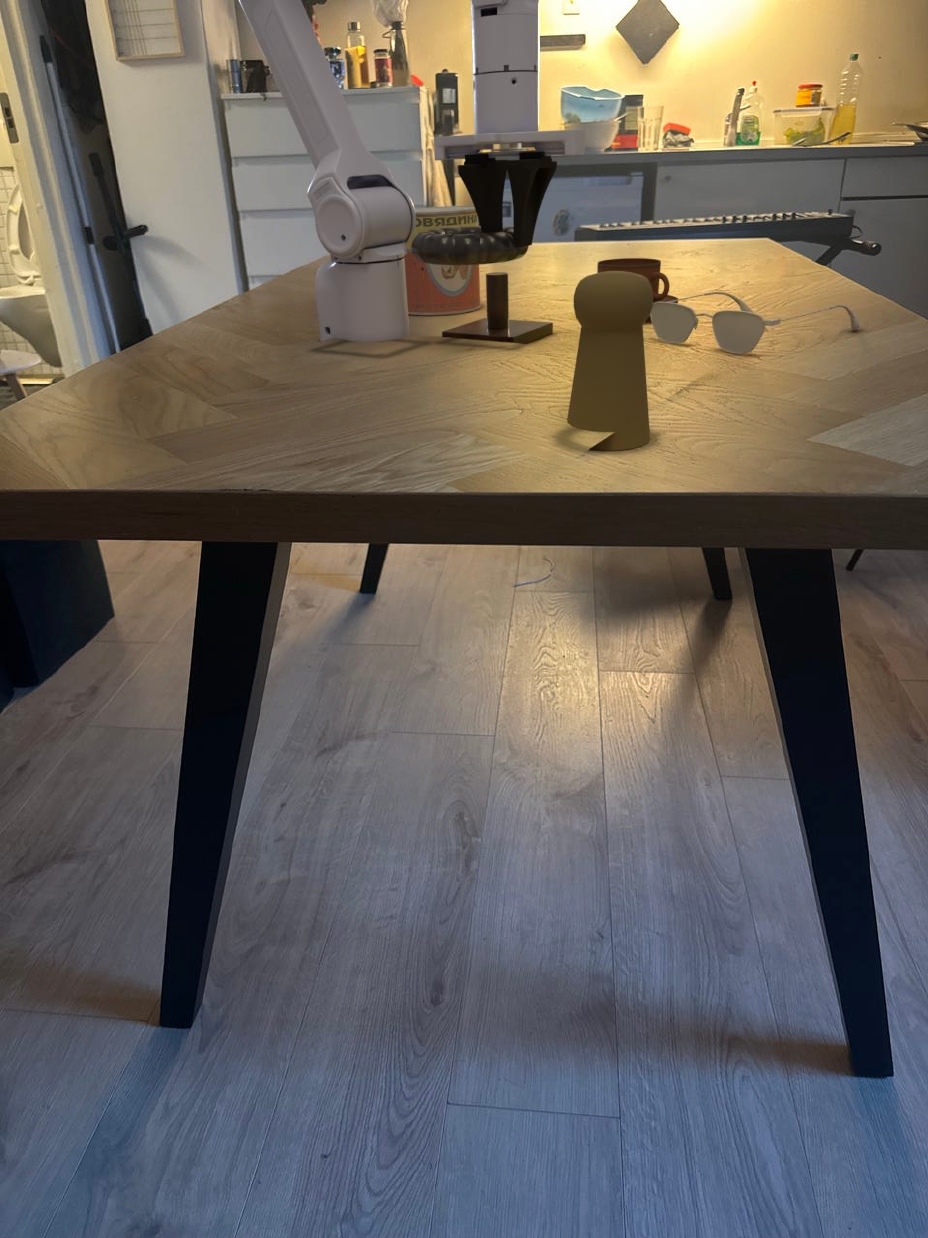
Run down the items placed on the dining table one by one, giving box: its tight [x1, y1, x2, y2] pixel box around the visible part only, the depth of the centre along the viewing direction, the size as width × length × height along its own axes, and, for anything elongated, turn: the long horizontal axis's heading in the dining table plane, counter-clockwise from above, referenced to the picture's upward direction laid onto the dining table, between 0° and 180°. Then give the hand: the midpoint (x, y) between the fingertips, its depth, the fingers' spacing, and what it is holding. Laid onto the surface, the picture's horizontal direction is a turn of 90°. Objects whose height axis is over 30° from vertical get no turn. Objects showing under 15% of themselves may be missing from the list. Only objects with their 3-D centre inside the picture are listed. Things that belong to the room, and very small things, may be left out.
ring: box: [411, 225, 530, 266], centre depth 82 cm, size 11×11×3 cm
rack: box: [441, 271, 554, 345], centre depth 93 cm, size 9×9×7 cm
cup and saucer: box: [596, 257, 679, 319], centre depth 102 cm, size 12×12×6 cm
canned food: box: [403, 205, 482, 316], centre depth 111 cm, size 11×11×12 cm
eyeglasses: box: [649, 291, 861, 355], centre depth 90 cm, size 15×18×4 cm
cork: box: [566, 271, 653, 452], centre depth 58 cm, size 6×6×11 cm
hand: (508, 245), depth 80 cm, fingers closed on ring, 3 cm apart
